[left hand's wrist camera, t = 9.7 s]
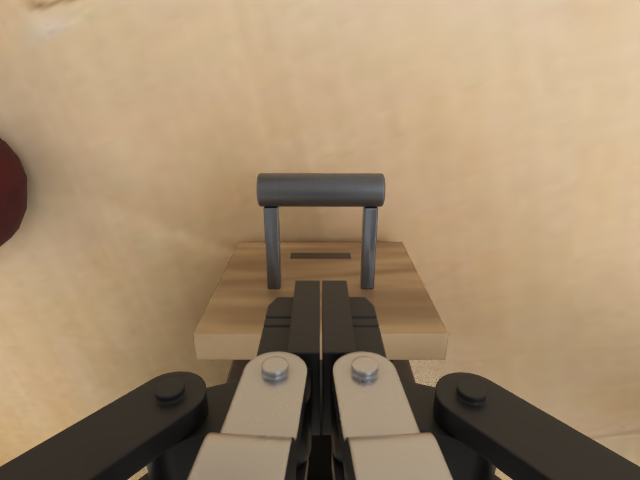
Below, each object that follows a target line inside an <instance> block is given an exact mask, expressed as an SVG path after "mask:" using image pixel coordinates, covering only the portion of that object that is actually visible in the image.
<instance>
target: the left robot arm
mask: <svg viewBox="0 0 640 480" xmlns="http://www.w3.org/2000/svg"><path fill="white" fill-rule="evenodd" d="M322 402H323V435H331V438H332V474H333V480H501V479H500V478H499V477H497V476H496V475H495V470H496V468H498V469H499V470H500V471H502V472H503V473H505V474H506V475H507V476H509V477H510V478H511V479H513V480H640V467H639V466H637V465H636V464H634V463H632V462H630V461H629V460H627V459H625V458H624V457H622V456H620V455H618V454H617V453H615V452H613V451H611V450H610V449H608V448H606V447H604V446H603V445H601V444H599V443H598V442H596V441H594V440H592V439H591V438H589V437H587V436H585V435H584V434H582V433H580V432H578V431H577V430H575V429H573V428H571V427H570V426H568V425H566V424H565V423H563V422H561V421H559V420H558V419H556V418H554V417H552V416H551V415H549V414H547V413H545V412H544V411H542V410H540V409H539V408H537V407H535V406H533V405H532V404H530V403H528V402H526V401H525V400H523V399H521V398H519V397H518V396H516V395H514V394H512V393H511V392H509V391H507V390H506V389H504V388H502V387H500V386H499V385H497V384H495V383H493V382H492V381H490V380H488V379H486V378H484V377H481V376H479V375H475V374H471V373H462V372H460V373H451V374H448V375H445V376H443V377H442V378H441V379H439V381H438V382H437V384H436V388H435V387H430V386H426V385H422V384H418V383H414V382H411V381H409V380H406V379H404V378H402V377H401V376H399V375H398V373H397V371H396V368H395V366H394V365H393V364H392V362H390V361H389V360H388V359H387V357H386V353H385V349H384V345H383V341H382V337H381V332H380V328H379V324H378V320H377V316H376V311H375V307H374V305H373V304H372V303H371V302H370V301H369V300H368V299H366V298H365V297H349V295H348V287H347V281H346V280H322ZM311 435H320V281H295V289H294V297H277V298H276V299H275V300H274V301H273V302H272V303H271V304H270V305H269V306H268V308H267V313H266V319H265V321H264V328H263V330H262V335H261V339H260V343H259V348H258V352H257V356H256V357H255V358H253V359H252V360H251V361H250V362H248V364H247V365H246V366H245V368H244V371H243V373H242V376H241V378H239V379H237V380H235V381H232V382H230V383H226V384H222V385H218V386H213V387H209V388H206V385H205V382H204V380H203V379H202V378H201V377H200V376H198V375H196V374H194V373H190V372H172V373H167V374H163V375H161V376H158V377H156V378H154V379H152V380H150V381H148V382H147V383H145V384H143V385H141V386H140V387H138V388H136V389H134V390H133V391H131V392H129V393H128V394H126V395H124V396H122V397H121V398H119V399H117V400H115V401H114V402H112V403H110V404H108V405H107V406H105V407H103V408H101V409H100V410H98V411H96V412H95V413H93V414H91V415H89V416H88V417H86V418H84V419H82V420H81V421H79V422H77V423H75V424H74V425H72V426H70V427H69V428H67V429H65V430H63V431H62V432H60V433H58V434H56V435H55V436H53V437H51V438H49V439H48V440H46V441H44V442H43V443H41V444H39V445H37V446H36V447H34V448H32V449H30V450H29V451H27V452H25V453H23V454H22V455H20V456H18V457H16V458H15V459H13V460H11V461H10V462H8V463H6V464H4V465H3V466H1V467H0V480H127V479H129V478H130V477H131V476H133V475H134V474H135V473H137V472H138V471H140V470H141V469H142V468H144V467H145V466H146V465H147V469H148V473H147V474H145V475H144V476H143V477H141V478H140V479H139V480H307V474H308V457H309V455H310V452H311Z"/></svg>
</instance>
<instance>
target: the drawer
mask: <svg viewBox="0 0 640 480" xmlns="http://www.w3.org/2000/svg"><path fill="white" fill-rule="evenodd" d="M384 199H385V178H384V175H383V174H319V173H260V174H259V175H258V178H257V200H258V204H259V206H265V207H264V226H265V242H239V243H238V245H237V247H236V249H235V251H234V253H233V255H232V257H231V259H230V261H229V263H228V265H227V267H226V269H225V271H224V273H223V275H222V277H221V279H220V281H219V283H218V285H217V287H216V289H215V291H214V293H213V295H212V297H211V299H210V301H209V303H208V305H207V307H206V309H205V311H204V313H203V315H202V317H201V319H200V321H199V323H198V325H197V327H196V329H195V331H194V334H193V336H194V344H195V352H196V359H197V360H233V362H232V365H231V368H230V371H229V375H228V378H227V381H226V383H230V382H232V381H235V380H237V379H239V378H241V376H242V373H243V371H244V368H245V366H246V365H247V364H248V362H250V361H251V360H252V359H253V358H255V357H256V356H257V352H258V348H259V343H260V339H261V335H262V330H263V328H264V321H265V319H266V313H267V308H268V306H269V305H270V304H271V303H272V302H273V301H274V300H275V299H276V298H277V297H294V289H295V281H320V435H311V452H310V455H309V457H308V474H307V480H333V474H332V438H331V435H323V402H322V280H346V281H347V287H348V295H349V297H365V298H366V299H368V300H369V301H370V302H371V303H372V304H373V305H374V307H375V311H376V316H377V320H378V324H379V328H380V332H381V337H382V341H383V345H384V349H385V353H386V357H387V359H388V360H389V361H390V362H392V364H393V365H394V366H395V368H396V371H397V373H398V375H399V376H401V377H402V378H404V379H406V380H409V381H411V382H414V383H416V382H415V379H414V376H413V372H412V369H411V366H410V363H409V360H445V358H446V351H447V343H448V335H449V334H448V332H447V330H446V328H445V326H444V324H443V322H442V320H441V318H440V316H439V314H438V312H437V310H436V308H435V306H434V304H433V302H432V300H431V298H430V296H429V294H428V292H427V290H426V288H425V286H424V284H423V283H422V281H421V279H420V277H419V275H418V273H417V271H416V269H415V267H414V265H413V263H412V261H411V259H410V257H409V255H408V253H407V251H406V249H405V247H404V245H403V243H402V242H376V239H377V220H378V208H377V207H381V206H383V204H384ZM279 206H322V207H363V220H362V242H280V227H279Z"/></svg>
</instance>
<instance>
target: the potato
mask: <svg viewBox="0 0 640 480" xmlns="http://www.w3.org/2000/svg"><path fill="white" fill-rule="evenodd" d="M26 209H27V177H26V174H25V172H24V169H23V167H22V164H21V162H20V159H19V158H18V156H17V155H16V154H15V153H14V152H13V150H12V149H11V148H10V147H9V146H8V144H7V143H6V142H4V141H3V140H2V139H0V246H1V245H3V244H4V243H5V242H6V241H8V240H9V239H10V238H11V237H12V236H13V235H14V234H15V232H16V231H17V230H18V229H19V227H20V224H21V222H22V219H23V216H24V214H25V211H26Z"/></svg>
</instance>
